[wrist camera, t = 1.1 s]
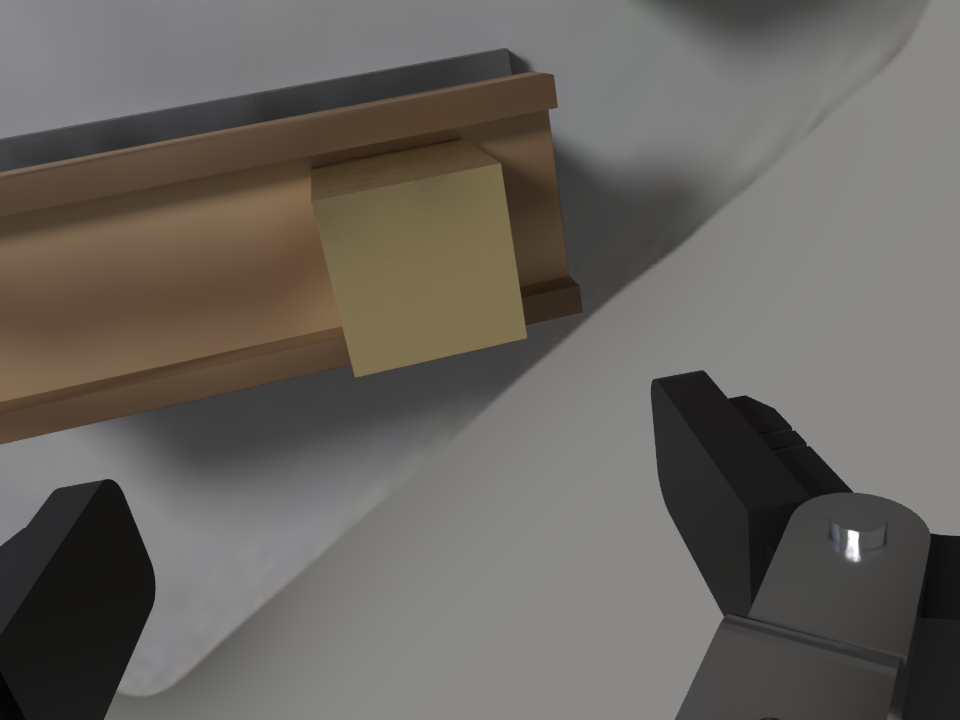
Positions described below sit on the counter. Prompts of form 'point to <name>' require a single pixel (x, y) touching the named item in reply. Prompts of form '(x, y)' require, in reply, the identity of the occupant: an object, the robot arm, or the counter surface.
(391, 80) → the pivot stand
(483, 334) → the brass block
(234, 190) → the seesaw beam
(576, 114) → the counter surface
